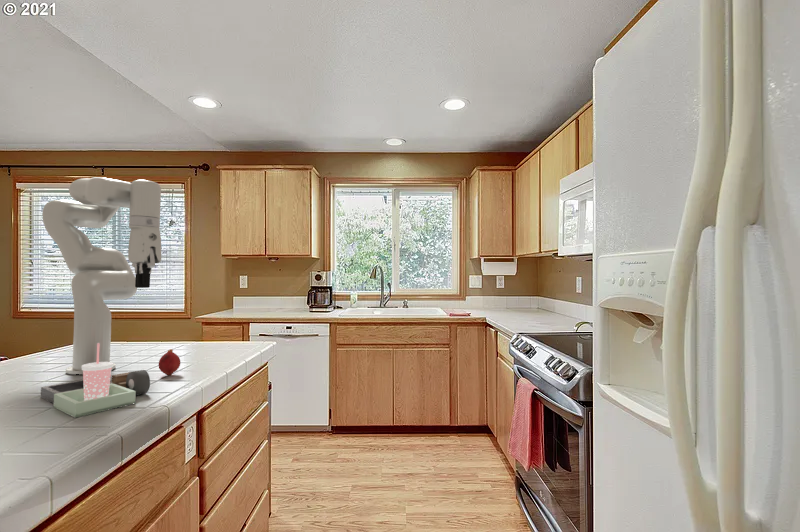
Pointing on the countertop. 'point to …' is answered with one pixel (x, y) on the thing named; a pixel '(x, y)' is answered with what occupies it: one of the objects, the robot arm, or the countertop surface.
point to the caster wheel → (138, 381)
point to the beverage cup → (96, 378)
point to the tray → (93, 401)
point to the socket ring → (60, 389)
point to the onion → (169, 363)
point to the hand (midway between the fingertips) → (142, 287)
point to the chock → (120, 379)
